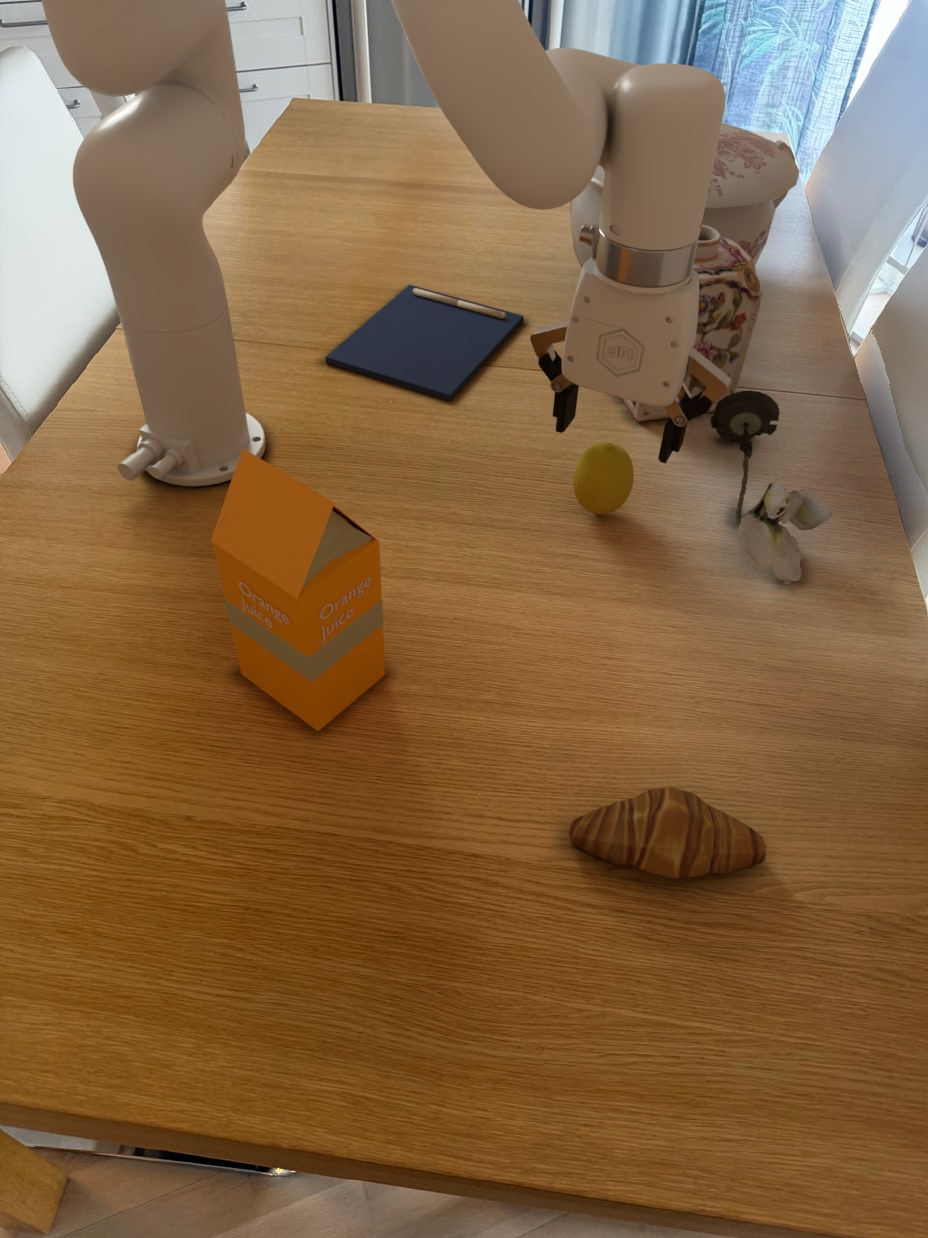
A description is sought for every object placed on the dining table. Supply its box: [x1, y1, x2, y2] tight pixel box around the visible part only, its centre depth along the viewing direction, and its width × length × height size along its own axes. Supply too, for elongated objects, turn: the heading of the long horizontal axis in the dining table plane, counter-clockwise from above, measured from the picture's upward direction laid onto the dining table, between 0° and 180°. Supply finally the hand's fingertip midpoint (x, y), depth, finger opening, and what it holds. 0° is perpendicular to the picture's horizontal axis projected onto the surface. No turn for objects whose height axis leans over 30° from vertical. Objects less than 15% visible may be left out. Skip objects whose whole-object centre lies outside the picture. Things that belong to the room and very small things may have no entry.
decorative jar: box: [621, 225, 763, 423], centre depth 98 cm, size 12×12×18 cm
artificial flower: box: [710, 390, 834, 585], centre depth 88 cm, size 9×22×10 cm, turn 171°
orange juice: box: [210, 449, 386, 732], centre depth 67 cm, size 8×9×20 cm
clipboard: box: [325, 284, 525, 402], centre depth 110 cm, size 20×16×2 cm
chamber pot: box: [569, 122, 800, 269], centre depth 113 cm, size 28×28×21 cm
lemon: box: [572, 441, 634, 515], centre depth 86 cm, size 6×6×8 cm
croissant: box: [568, 786, 767, 879], centre depth 63 cm, size 14×7×5 cm, turn 85°
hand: (615, 439), depth 83 cm, fingers open, 9 cm apart
